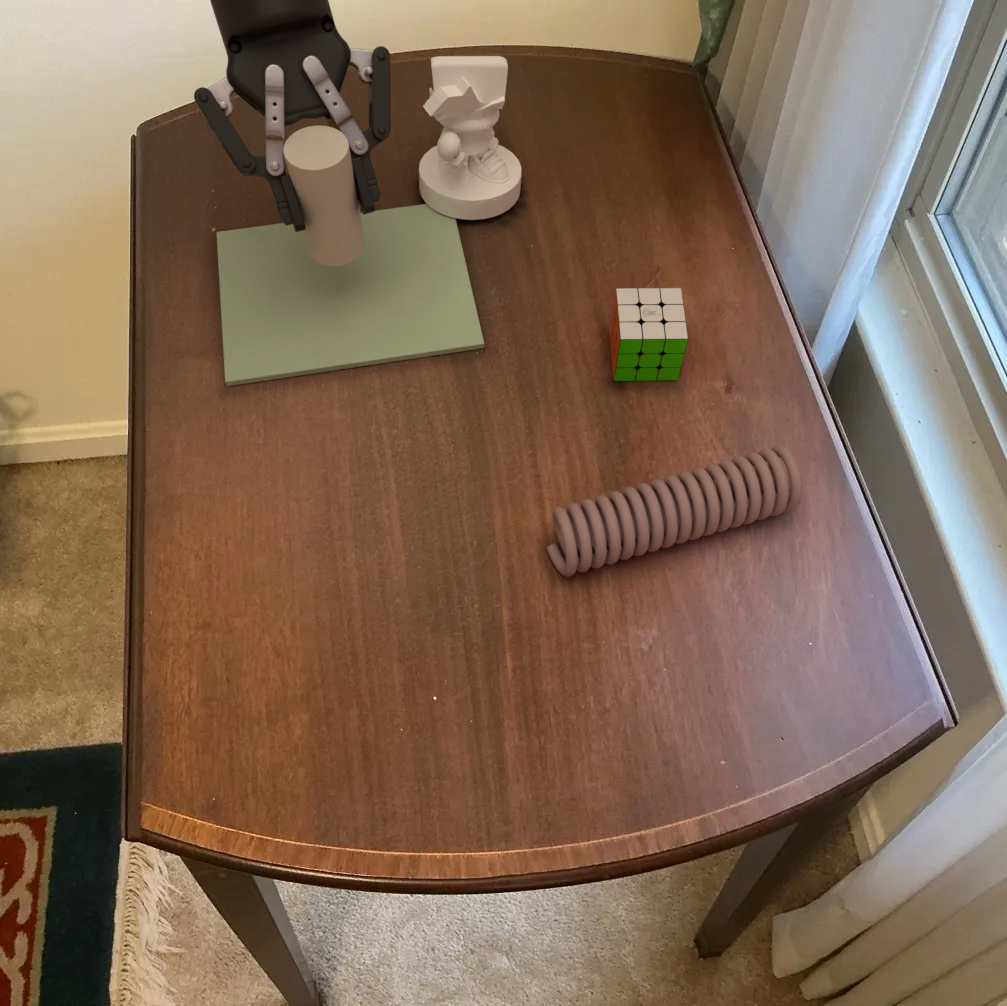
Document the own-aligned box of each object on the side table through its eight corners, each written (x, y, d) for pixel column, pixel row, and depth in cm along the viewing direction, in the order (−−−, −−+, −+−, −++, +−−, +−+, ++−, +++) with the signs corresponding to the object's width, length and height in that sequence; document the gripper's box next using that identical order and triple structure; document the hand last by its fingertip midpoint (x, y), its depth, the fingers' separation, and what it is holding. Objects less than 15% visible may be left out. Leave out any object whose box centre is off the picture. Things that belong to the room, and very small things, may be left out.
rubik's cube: (677, 381, 74) (688, 339, 70) (612, 381, 74) (619, 339, 70) (672, 330, 76) (682, 287, 72) (609, 330, 76) (615, 287, 72)
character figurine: (421, 221, 81) (418, 89, 71) (416, 151, 86) (412, 20, 76) (525, 218, 82) (536, 88, 72) (513, 149, 87) (522, 19, 77)
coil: (786, 428, 66) (539, 497, 64) (820, 479, 64) (563, 554, 61) (773, 470, 70) (539, 537, 67) (804, 519, 67) (562, 591, 65)
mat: (226, 386, 74) (224, 382, 73) (218, 236, 81) (216, 231, 81) (484, 348, 75) (484, 343, 75) (451, 205, 83) (451, 200, 83)
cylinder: (309, 270, 71) (285, 173, 64) (304, 227, 74) (280, 129, 66) (368, 261, 72) (352, 165, 64) (361, 219, 74) (345, 121, 66)
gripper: (143, -35, 59) (235, 246, 63) (368, -82, 61) (440, 192, 66) (154, -2, 66) (236, 249, 71) (355, -45, 68) (422, 200, 73)
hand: (335, 220), depth 68 cm, fingers closed on cylinder, 4 cm apart
